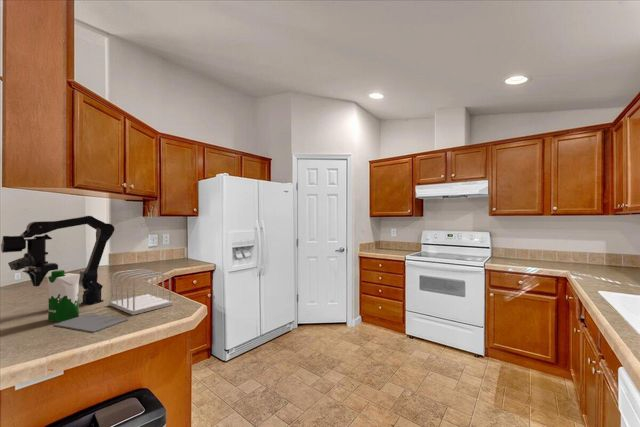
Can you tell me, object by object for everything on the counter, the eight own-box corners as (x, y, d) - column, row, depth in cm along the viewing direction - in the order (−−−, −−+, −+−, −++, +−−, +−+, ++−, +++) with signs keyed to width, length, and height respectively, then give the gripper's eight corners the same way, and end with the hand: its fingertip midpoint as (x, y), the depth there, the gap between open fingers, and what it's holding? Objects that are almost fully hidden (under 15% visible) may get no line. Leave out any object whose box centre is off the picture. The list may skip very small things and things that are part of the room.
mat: (90, 314, 124) (90, 313, 124) (127, 320, 117) (127, 319, 117) (53, 325, 111) (53, 324, 111) (93, 332, 104) (93, 331, 104)
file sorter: (173, 305, 137) (173, 272, 137) (132, 316, 122) (132, 279, 122) (147, 297, 151) (147, 267, 151) (108, 305, 137) (109, 272, 137)
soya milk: (43, 321, 116) (44, 271, 117) (69, 313, 125) (69, 267, 125) (57, 323, 114) (58, 272, 114) (83, 316, 122) (83, 268, 122)
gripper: (-2, 251, 120) (-2, 289, 120) (26, 253, 115) (25, 292, 114) (32, 248, 131) (31, 283, 131) (59, 250, 125) (58, 286, 125)
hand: (36, 286), depth 125 cm, fingers closed
